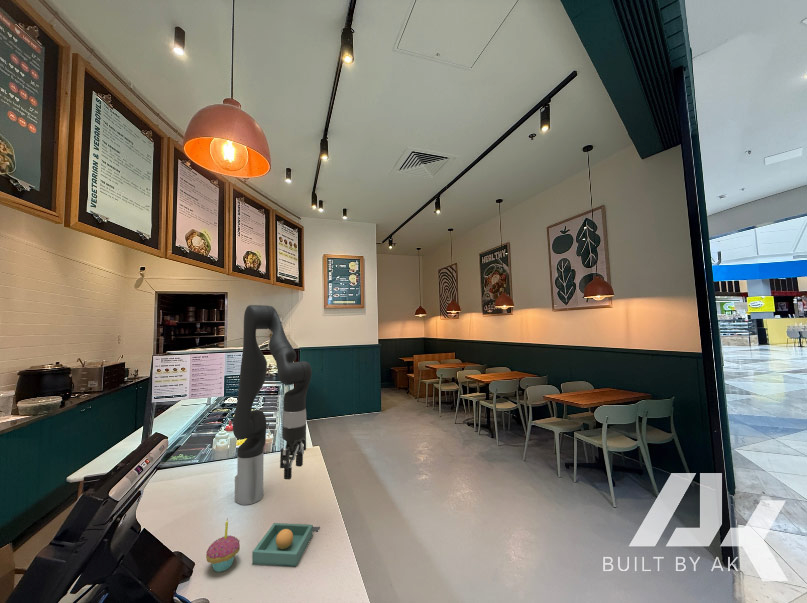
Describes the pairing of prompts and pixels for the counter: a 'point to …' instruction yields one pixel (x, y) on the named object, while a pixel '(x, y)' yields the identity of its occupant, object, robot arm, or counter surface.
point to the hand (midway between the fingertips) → (293, 472)
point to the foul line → (316, 529)
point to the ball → (284, 538)
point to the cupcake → (223, 551)
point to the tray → (286, 557)
